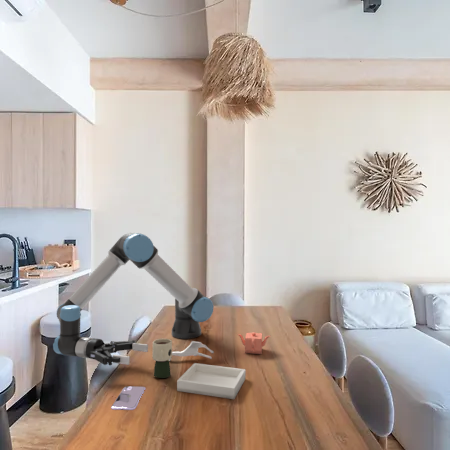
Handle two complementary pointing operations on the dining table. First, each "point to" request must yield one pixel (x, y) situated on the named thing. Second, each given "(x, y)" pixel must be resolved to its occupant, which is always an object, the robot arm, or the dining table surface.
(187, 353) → the white flat pronged piece
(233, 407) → the dining table surface
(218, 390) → the tray
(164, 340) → the character mug
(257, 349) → the teapot
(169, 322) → the dining table surface
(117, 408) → the mobile phone
